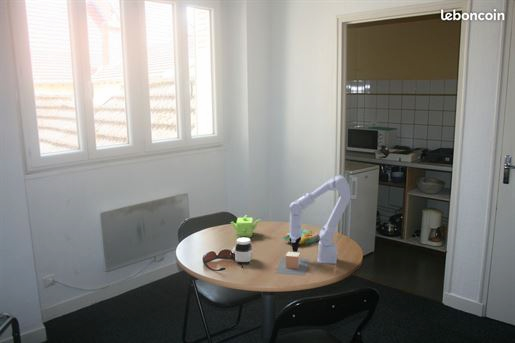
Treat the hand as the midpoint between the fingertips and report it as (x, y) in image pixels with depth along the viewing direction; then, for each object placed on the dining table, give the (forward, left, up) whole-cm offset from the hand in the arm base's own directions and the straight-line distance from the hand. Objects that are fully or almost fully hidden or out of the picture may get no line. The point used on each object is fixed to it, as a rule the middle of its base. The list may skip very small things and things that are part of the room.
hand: (295, 251), depth 223 cm
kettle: (+34, -33, -5) cm, 47 cm away
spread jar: (+27, +5, -5) cm, 28 cm away
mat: (0, +8, -5) cm, 10 cm away
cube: (0, +5, -1) cm, 6 cm away
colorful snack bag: (0, -28, -5) cm, 29 cm away
